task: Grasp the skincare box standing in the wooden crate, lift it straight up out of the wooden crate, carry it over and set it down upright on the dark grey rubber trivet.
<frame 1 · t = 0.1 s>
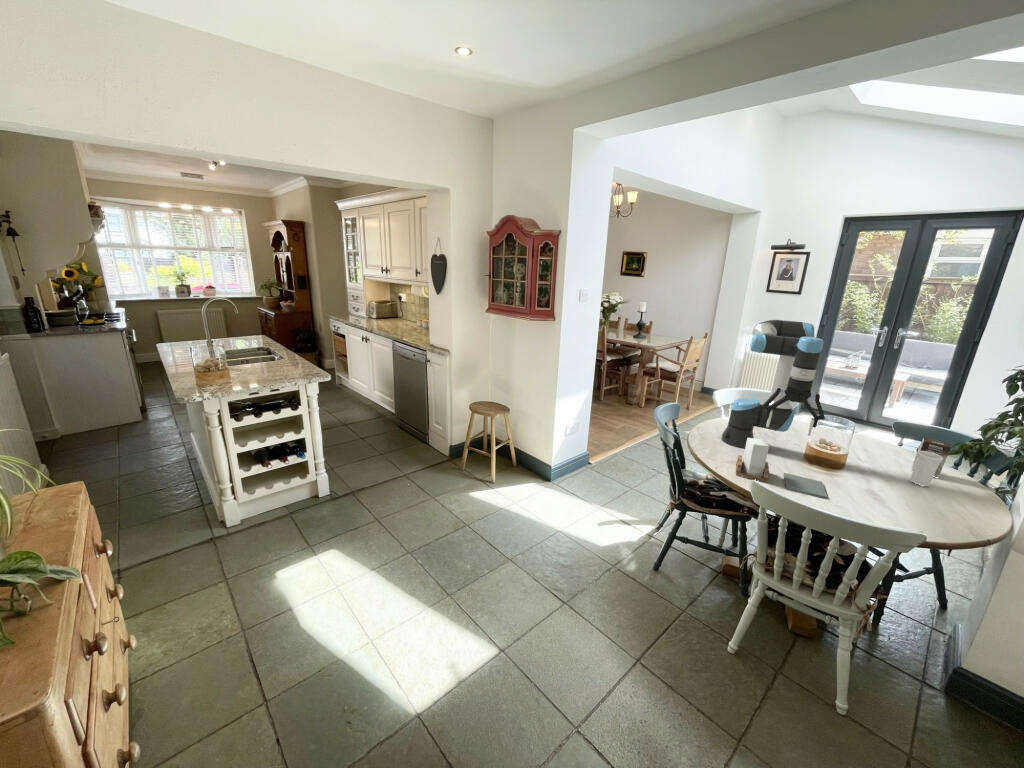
hand: (787, 430, 162), 28 cm above the table, fingers open, 13 cm apart
cup: (918, 484, 183), on the table
coffee box: (924, 473, 193), on the table
trivet: (803, 486, 176), on the table
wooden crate: (750, 473, 185), on the table
skincare box: (750, 473, 185), resting in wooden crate
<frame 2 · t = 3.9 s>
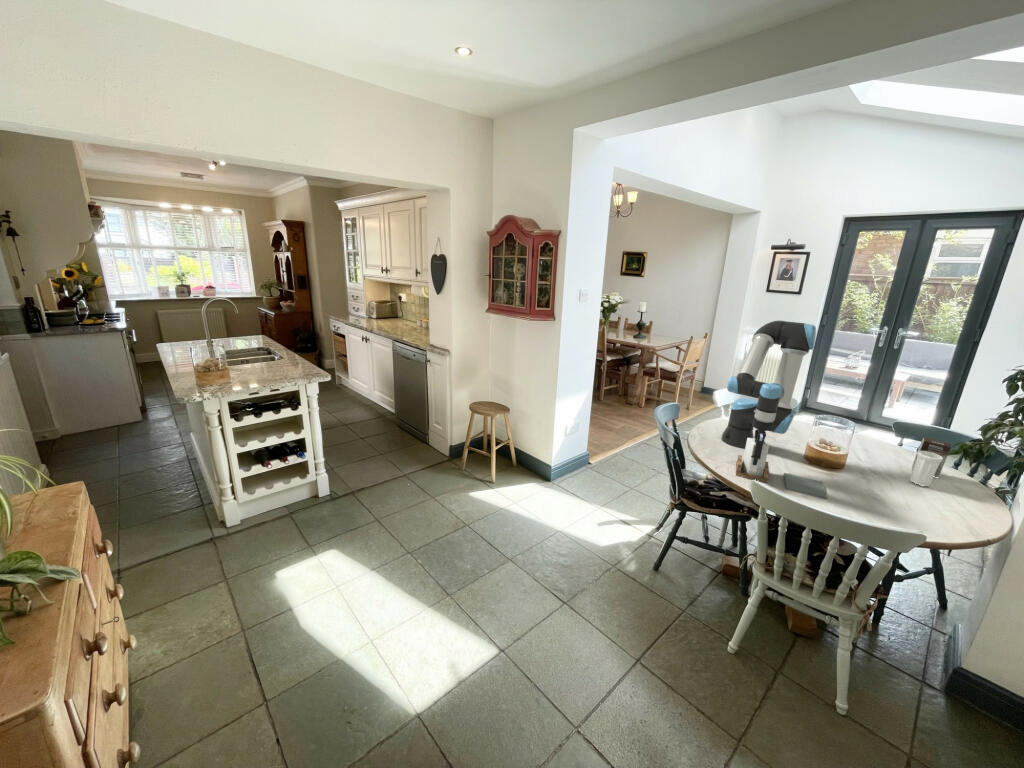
hand: (752, 466, 184), 4 cm above the table, fingers closed on skincare box, 9 cm apart
skincare box: (750, 473, 185), resting in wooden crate, touching gripper
everything else where it was.
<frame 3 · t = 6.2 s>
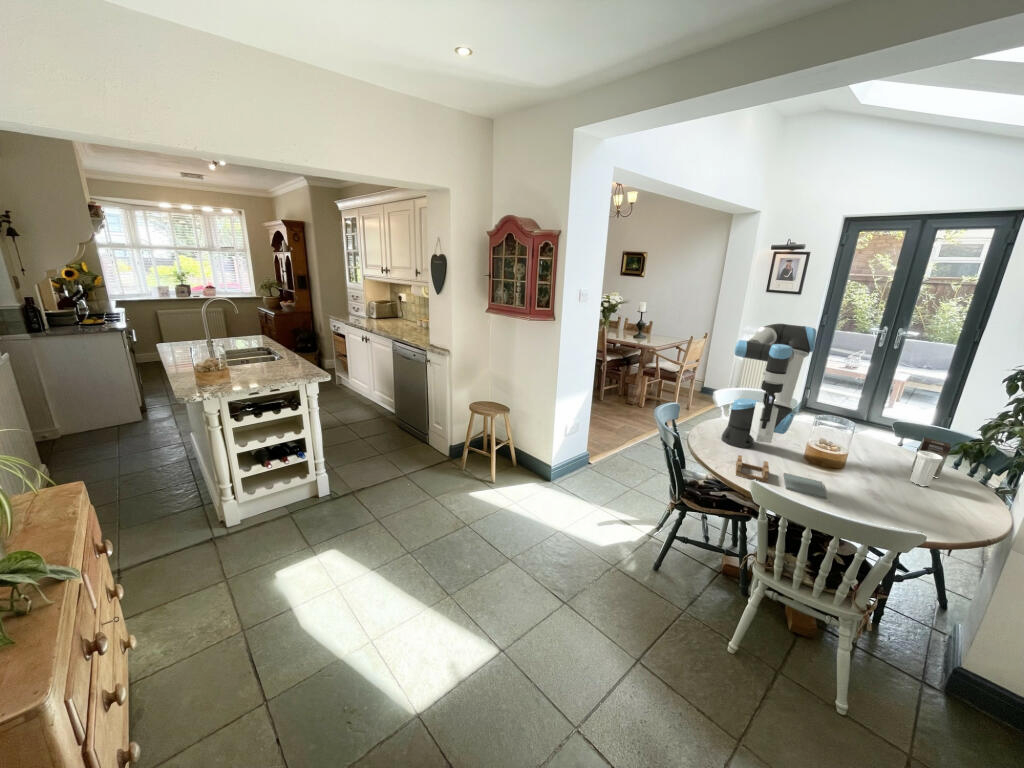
hand: (761, 430, 179), 21 cm above the table, fingers closed on skincare box, 9 cm apart
skincare box: (759, 439, 180), point 17 cm above the table, touching gripper
everything else where it was.
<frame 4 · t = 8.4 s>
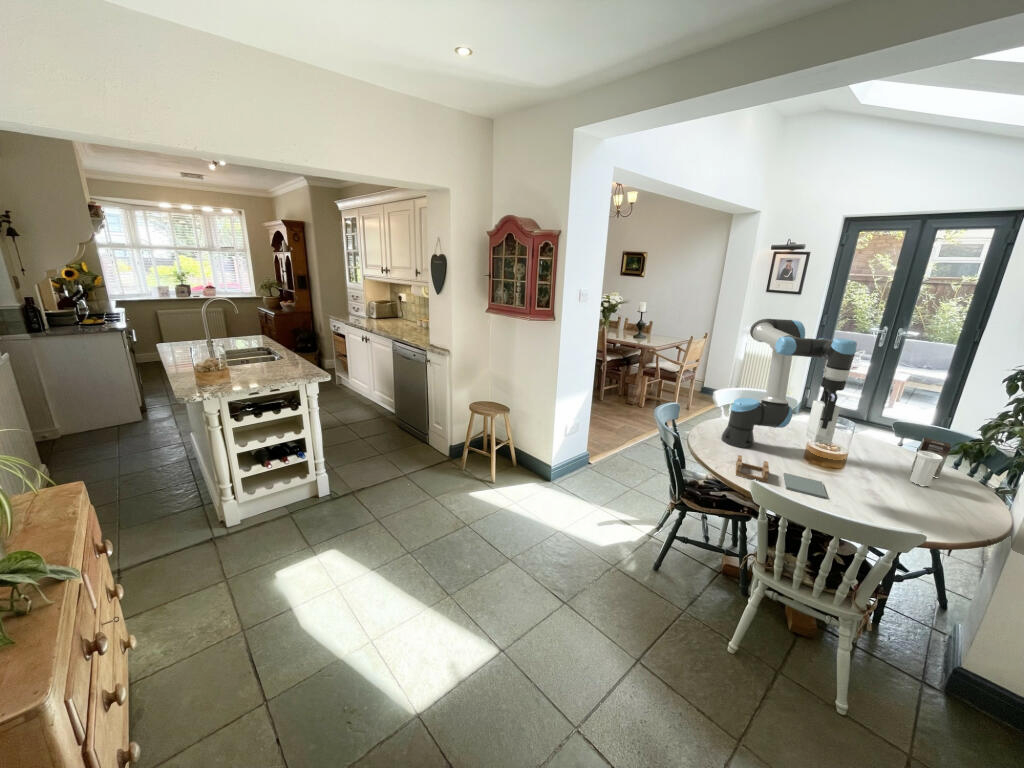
hand: (819, 431, 169), 26 cm above the table, fingers closed on skincare box, 9 cm apart
skincare box: (816, 439, 170), point 22 cm above the table, touching gripper
everything else where it was.
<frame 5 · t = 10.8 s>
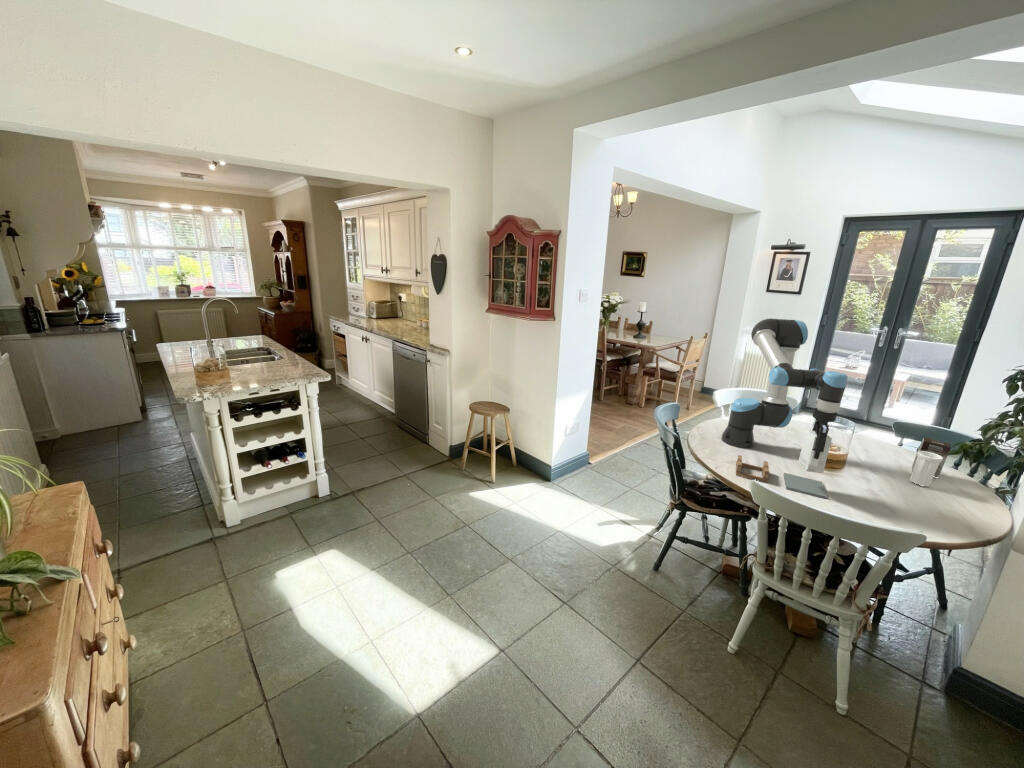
hand: (811, 460, 172), 12 cm above the table, fingers closed on skincare box, 9 cm apart
skincare box: (809, 468, 173), point 9 cm above the table, touching gripper
everything else where it was.
when the fingers open (5 cm above the table, at t = 13.1 s): skincare box stays where it is, resting on trivet.
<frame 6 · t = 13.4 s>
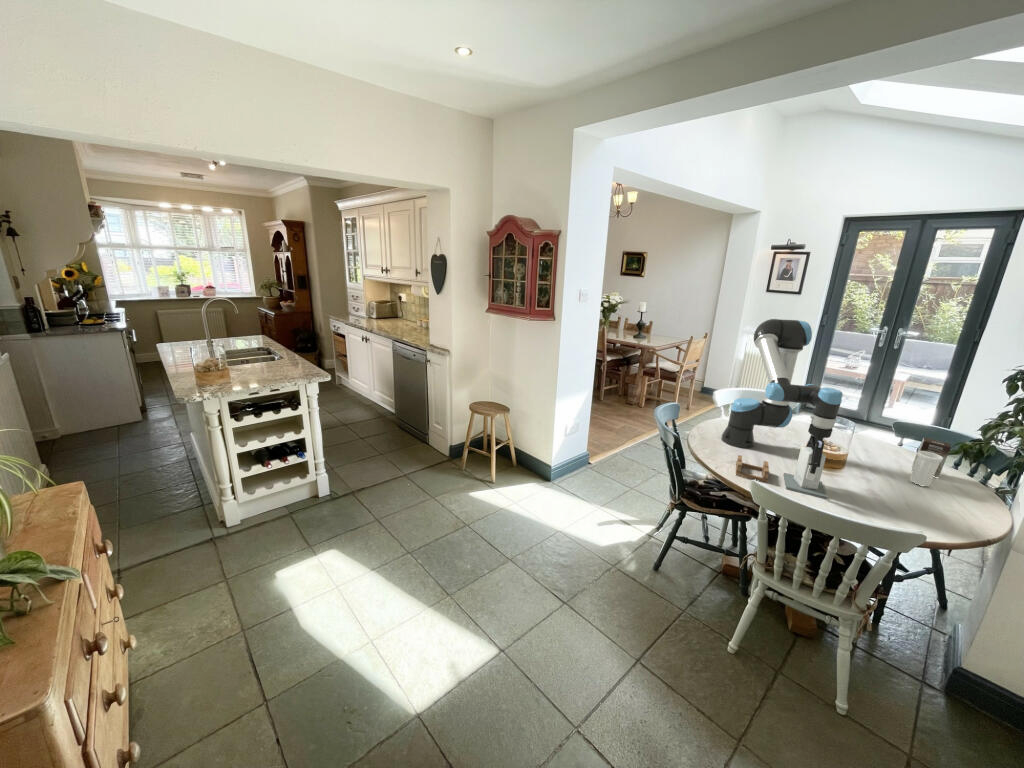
hand: (807, 472, 174), 6 cm above the table, fingers open, 12 cm apart
skincare box: (804, 484, 176), point 1 cm above the table, touching trivet
everything else where it was.
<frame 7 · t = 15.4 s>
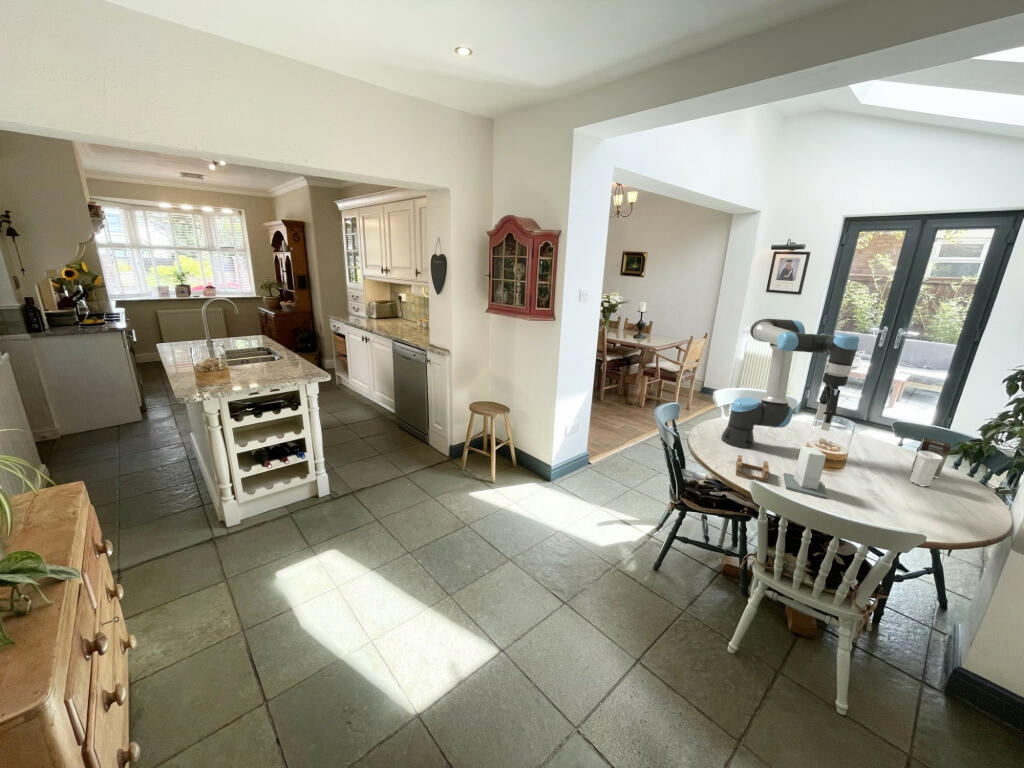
hand: (821, 424, 168), 29 cm above the table, fingers open, 13 cm apart
nothing on the table moved.
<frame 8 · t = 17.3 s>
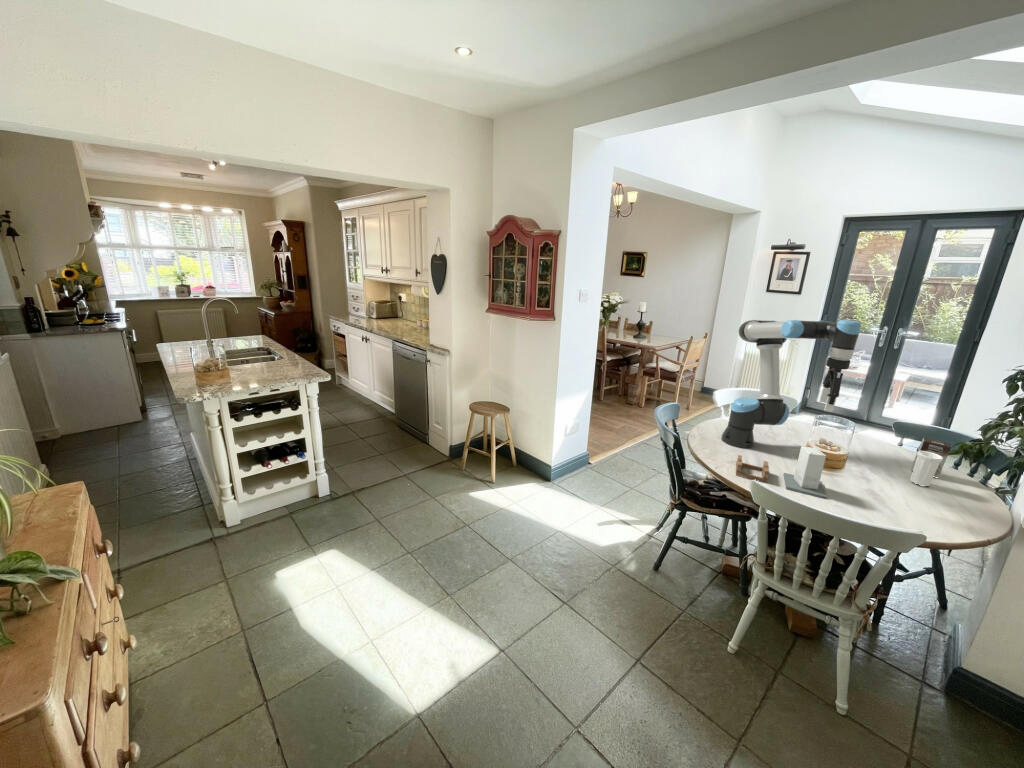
hand: (825, 406, 176), 33 cm above the table, fingers open, 13 cm apart
nothing on the table moved.
at the end: skincare box inside the target area on the trivet (0.4 cm from its centre), point 0.8 cm above the trivet's base; skincare box tilted 0°; the gripper is holding nothing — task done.
